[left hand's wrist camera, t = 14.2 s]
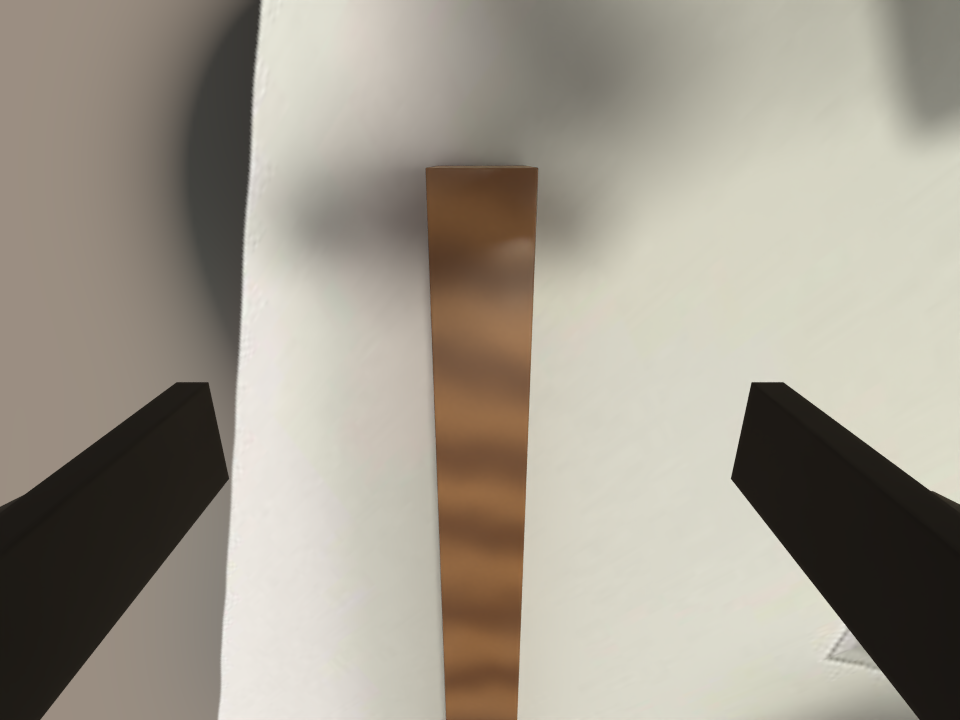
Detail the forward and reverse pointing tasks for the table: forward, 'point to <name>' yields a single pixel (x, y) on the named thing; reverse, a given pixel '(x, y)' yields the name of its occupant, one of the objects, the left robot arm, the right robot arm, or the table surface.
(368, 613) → the table surface
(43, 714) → the left robot arm
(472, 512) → the bar
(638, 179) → the table surface
